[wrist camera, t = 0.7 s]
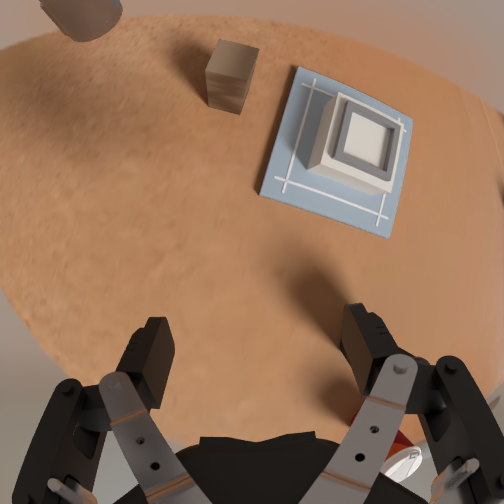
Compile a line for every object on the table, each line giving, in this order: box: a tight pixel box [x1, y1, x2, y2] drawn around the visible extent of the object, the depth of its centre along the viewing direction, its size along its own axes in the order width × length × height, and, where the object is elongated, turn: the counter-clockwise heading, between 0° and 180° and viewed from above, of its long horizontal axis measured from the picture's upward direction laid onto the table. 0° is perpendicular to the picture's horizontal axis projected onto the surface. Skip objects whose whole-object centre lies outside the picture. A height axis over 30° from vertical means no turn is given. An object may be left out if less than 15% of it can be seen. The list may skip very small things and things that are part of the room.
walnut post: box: [205, 39, 259, 115], centre depth 27 cm, size 4×4×10 cm
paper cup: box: [351, 412, 422, 483], centre depth 34 cm, size 8×8×14 cm
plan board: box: [259, 67, 413, 239], centre depth 31 cm, size 18×18×7 cm
